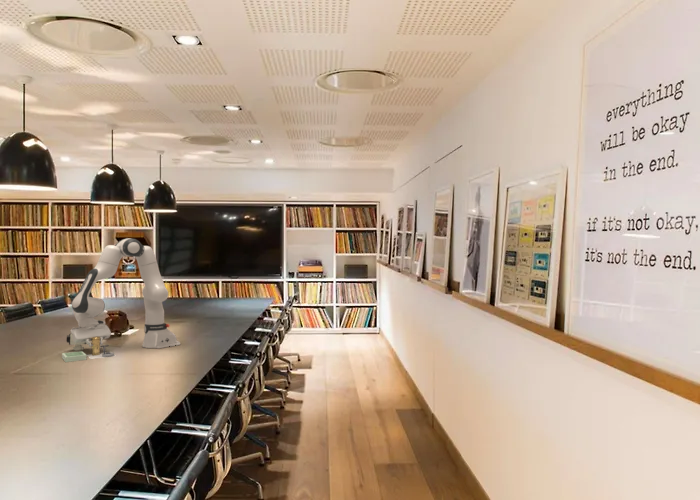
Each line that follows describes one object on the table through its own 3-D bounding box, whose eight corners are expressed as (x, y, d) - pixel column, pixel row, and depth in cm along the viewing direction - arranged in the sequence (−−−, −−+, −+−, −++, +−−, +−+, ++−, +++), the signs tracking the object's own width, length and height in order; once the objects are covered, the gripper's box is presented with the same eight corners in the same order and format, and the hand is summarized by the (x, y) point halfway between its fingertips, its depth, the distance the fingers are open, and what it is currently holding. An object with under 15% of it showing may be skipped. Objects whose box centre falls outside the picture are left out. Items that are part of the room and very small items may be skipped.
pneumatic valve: (88, 352, 288) (88, 331, 288) (66, 352, 284) (66, 332, 284) (90, 350, 293) (90, 330, 293) (68, 350, 290) (68, 330, 290)
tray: (82, 357, 275) (82, 351, 275) (86, 361, 265) (86, 355, 265) (61, 359, 269) (61, 353, 268) (65, 364, 259) (65, 357, 259)
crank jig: (110, 353, 284) (111, 341, 284) (116, 357, 275) (116, 345, 275) (86, 356, 276) (86, 343, 276) (90, 360, 267) (90, 347, 267)
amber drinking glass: (99, 353, 280) (99, 336, 280) (100, 354, 277) (101, 337, 277) (90, 354, 278) (90, 336, 277) (92, 355, 274) (92, 338, 274)
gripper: (71, 325, 273) (79, 344, 267) (107, 320, 289) (115, 339, 284) (67, 332, 275) (75, 351, 270) (103, 327, 292) (111, 345, 286)
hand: (96, 345), depth 277 cm, fingers closed on amber drinking glass, 4 cm apart
